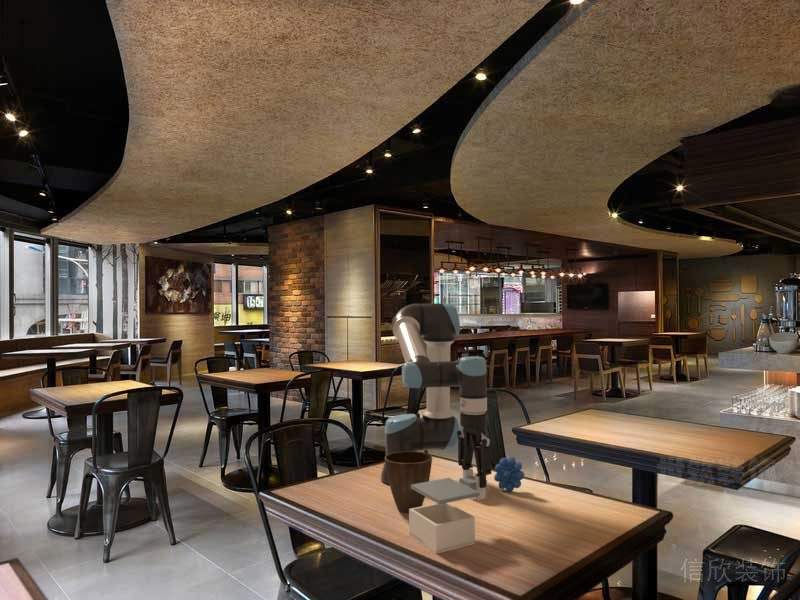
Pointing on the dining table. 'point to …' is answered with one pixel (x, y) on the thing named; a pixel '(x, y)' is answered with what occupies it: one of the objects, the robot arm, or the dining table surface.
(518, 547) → the dining table surface
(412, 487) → the lid
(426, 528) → the tub
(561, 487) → the dining table surface
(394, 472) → the plant pot
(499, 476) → the grapes
